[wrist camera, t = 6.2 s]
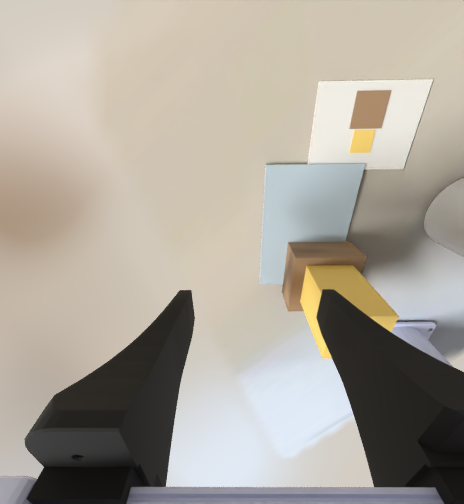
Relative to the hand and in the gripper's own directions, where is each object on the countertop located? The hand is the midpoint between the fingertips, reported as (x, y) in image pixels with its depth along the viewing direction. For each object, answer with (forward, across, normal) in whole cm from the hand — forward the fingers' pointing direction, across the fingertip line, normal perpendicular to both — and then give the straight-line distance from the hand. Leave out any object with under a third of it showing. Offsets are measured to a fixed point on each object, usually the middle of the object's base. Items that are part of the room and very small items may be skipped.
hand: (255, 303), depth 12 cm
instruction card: (+10, -9, -8) cm, 16 cm away
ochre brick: (+7, -7, +4) cm, 10 cm away
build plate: (+10, -6, 0) cm, 12 cm away
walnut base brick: (+10, -7, +4) cm, 13 cm away
